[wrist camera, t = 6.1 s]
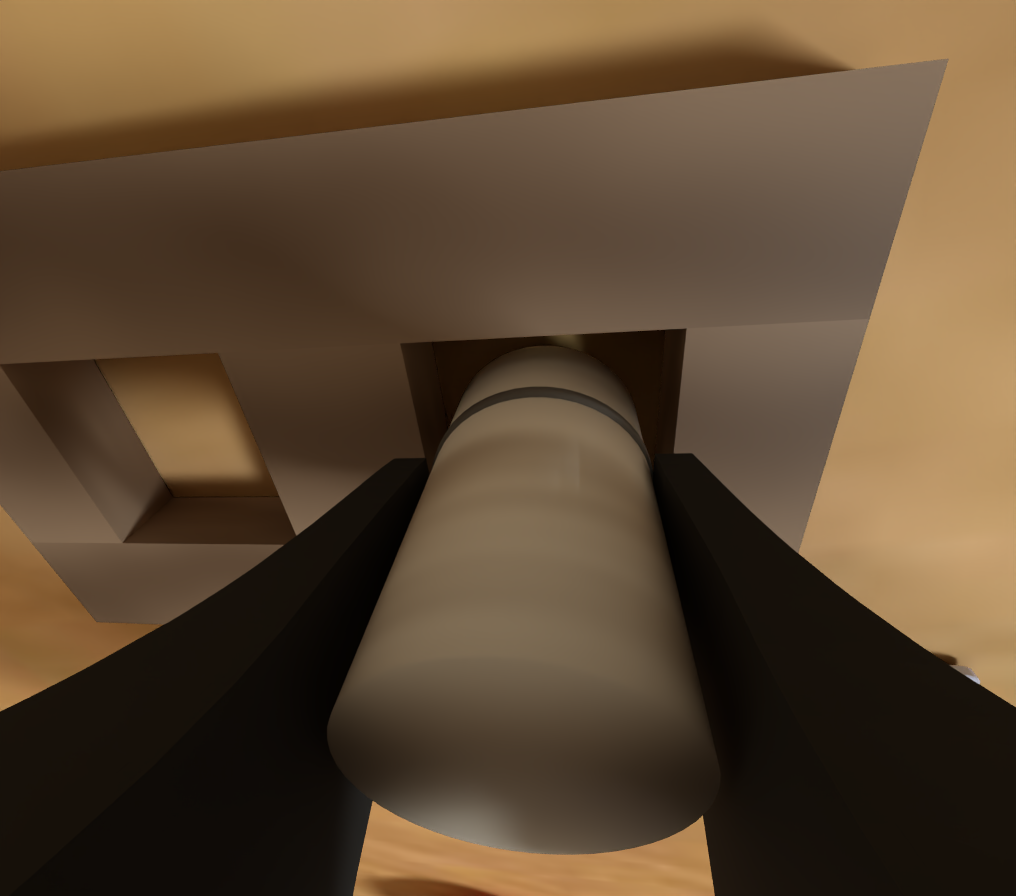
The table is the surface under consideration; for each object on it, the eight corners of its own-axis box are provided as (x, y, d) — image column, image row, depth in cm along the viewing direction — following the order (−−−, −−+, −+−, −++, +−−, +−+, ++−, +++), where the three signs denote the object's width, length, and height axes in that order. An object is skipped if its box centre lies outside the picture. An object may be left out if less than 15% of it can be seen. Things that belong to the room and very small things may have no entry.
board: (746, 586, 14) (769, 645, 13) (142, 574, 17) (96, 622, 15) (868, 74, 8) (948, 58, 6) (-122, 190, 11) (-250, 200, 9)
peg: (637, 500, 12) (705, 869, 6) (470, 504, 12) (379, 841, 6) (642, 335, 10) (755, 658, 4) (439, 350, 10) (260, 648, 4)
